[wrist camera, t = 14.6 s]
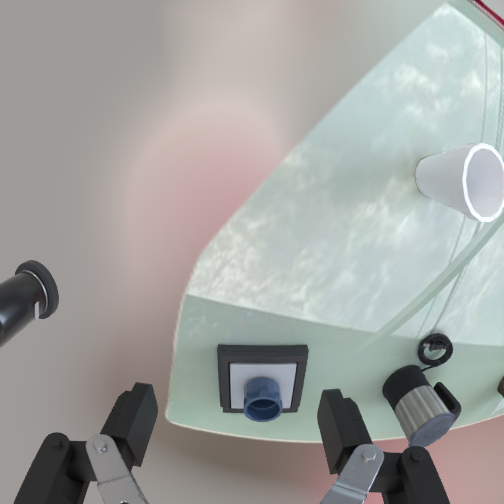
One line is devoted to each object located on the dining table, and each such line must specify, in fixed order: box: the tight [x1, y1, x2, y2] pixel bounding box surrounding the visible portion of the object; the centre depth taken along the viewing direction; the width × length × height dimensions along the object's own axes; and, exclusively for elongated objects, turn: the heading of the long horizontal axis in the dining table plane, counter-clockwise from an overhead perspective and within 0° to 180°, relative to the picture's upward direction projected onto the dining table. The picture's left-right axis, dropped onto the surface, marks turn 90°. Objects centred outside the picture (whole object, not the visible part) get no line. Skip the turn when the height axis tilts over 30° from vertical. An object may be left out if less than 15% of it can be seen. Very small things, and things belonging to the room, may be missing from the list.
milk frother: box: [383, 333, 461, 447], centre depth 38 cm, size 14×16×15 cm
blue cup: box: [243, 377, 283, 422], centre depth 39 cm, size 6×6×5 cm
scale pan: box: [230, 362, 296, 409], centre depth 42 cm, size 10×10×1 cm
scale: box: [217, 345, 309, 413], centre depth 43 cm, size 14×13×3 cm
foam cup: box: [415, 143, 504, 222], centre depth 30 cm, size 10×9×13 cm
